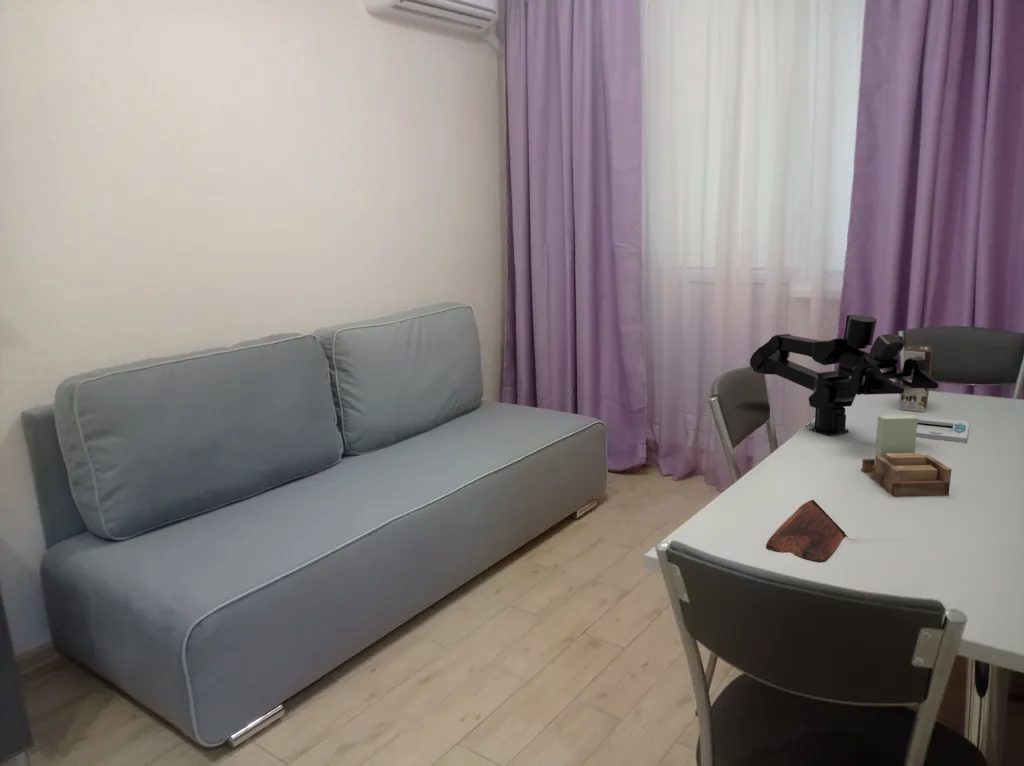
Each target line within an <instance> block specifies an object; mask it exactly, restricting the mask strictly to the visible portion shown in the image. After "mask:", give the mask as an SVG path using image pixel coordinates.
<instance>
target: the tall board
mask: <svg viewBox="0 0 1024 766" xmlns="http://www.w3.org/2000/svg"><path fill="white" fill-rule="evenodd" d="M915 416H916V415H913V414H902V415H885V414H884V415H883V414H882V415H877V426H876V437H875V438H876V439H875V453H874V459H875V461H874V466H875V463H876V456H882V457H883V458H885V454H894V453H916V442H917V437H916V432H917V429H918V423H917V422H918V418H917V417H915Z"/></svg>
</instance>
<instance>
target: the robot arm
mask: <svg viewBox="0 0 1024 766" xmlns="http://www.w3.org/2000/svg"><path fill="white" fill-rule="evenodd" d="M877 321H878V319H877V318H876V317H874V316H864V315H856V314H848V315H846V319H845V329H844V335H843V337H837V338H833V339H825V340H819V339H813V338H807V337H802V336H796V335H791V334H789V333H783V334H775V335H774V336H771V338H770V339H769V340H768V341H767V342H766V343H764V344H763V345H761V346H760V347H758V348H757V349H756V350H755V351H754V352H753V353H752V355H751V357H750V359H749V365H750V367H751V369H752V368H753V370H752V371H753V372H755V373H756V374H761V375H775V376H778V377H781V378H782V379H786V380H787V381H790V382H792V383H793V384H797V385H799V386H801V387H804V388H805V389H808V390H811V391H812V392H813V393H812V394H811V395H810V396H809V397H808V403H809V406H810V407H811V408H815V410H814V411H815V415H814V426H809V429H810V428H811V427H812V428H811V429H813V430H812V431H814V430H816V431H815V432H817V431H818V433H820V432H821V433H820V434H824V435H826V436H834V435H838V434H845V433H849V431H850V430H849V429H848V428H846V421H847V414H846V407H852V406H853V403H854V401H855V399H856V396H859V395H865V396H866V395H867V396H869V395H895V394H896V395H897V394H898V395H900V394H903V393H904V388H902V387H901V384H898V383H897V382H901V381H902V383H903V385H905V386H909V387H910V388H929V390H930V389H931V390H932V389H934V390H935V389H938V388H939V383H938V381H936V380H935V378H933V377H932V375H931V374H930V375H929V374H928V373H927V367H928V362H929V361H928V360H927V359H925V358H922V357H915V358H909V359H907V360H905V362H904V367H903V366H902V368H901V369H897V368H898V367H897V366H896V365H897V364H898V362H899V358H898V357H896V356H897V354H898V353H899V352H902V351H903V348H904V347H905V346H906V340H905V339H904V337H903V336H902V335H900V336H899V335H898V334H894V333H887V334H881V335H878V336H877V337H876V338H875V333H876V327H877ZM874 338H875V340H874ZM868 346H871V347H870V349H869V350H870V351H865V350H864V349H867V347H868ZM791 353H793V354H796V355H797V354H798V355H803V356H806V357H807V356H808V357H810V358H811V359H812V360H813V361H814V362H816V363H818V364H820V365H823V366H829V365H837V364H838V367H837V368H836V369H837V370H832V371H831V370H830V371H823V372H818V371H816V370H813V369H810V368H809V367H805V366H803V365H801V364H798V363H795V362H793V361H791V360H789V358H790V354H791ZM811 429H810V430H811Z"/></svg>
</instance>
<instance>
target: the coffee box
mask: <svg viewBox="0 0 1024 766" xmlns="http://www.w3.org/2000/svg"><path fill="white" fill-rule="evenodd" d="M933 348H934V347H933V346H932V345H931V346H930V345H909V344H908V345H905V348H904V350H903V359H902V360H903V361H902V368H903V367H904V362H905V360H907V359H909V358H915V357H922V358H925V359H927V360H928V361H929V362H928V367H927V373H928V374H929V375H930V376H931V371H932V360H933V359H932V358H933ZM900 386H901V387H902V388H904V393H903V394H899V404H898V410H901V411H911V412H918V413H925V412H926V409H927V406H928V403H929V402H928V401H929V393H930V388H910V387H909V386H905V385H903V383H902V381H900Z"/></svg>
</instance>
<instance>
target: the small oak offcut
mask: <svg viewBox="0 0 1024 766" xmlns="http://www.w3.org/2000/svg"><path fill="white" fill-rule="evenodd" d="M896 467H897V468H899V469H900V470H901V481H936V479H937V469H936V468H934V467H932V466H931V465H917V466H896Z"/></svg>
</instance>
